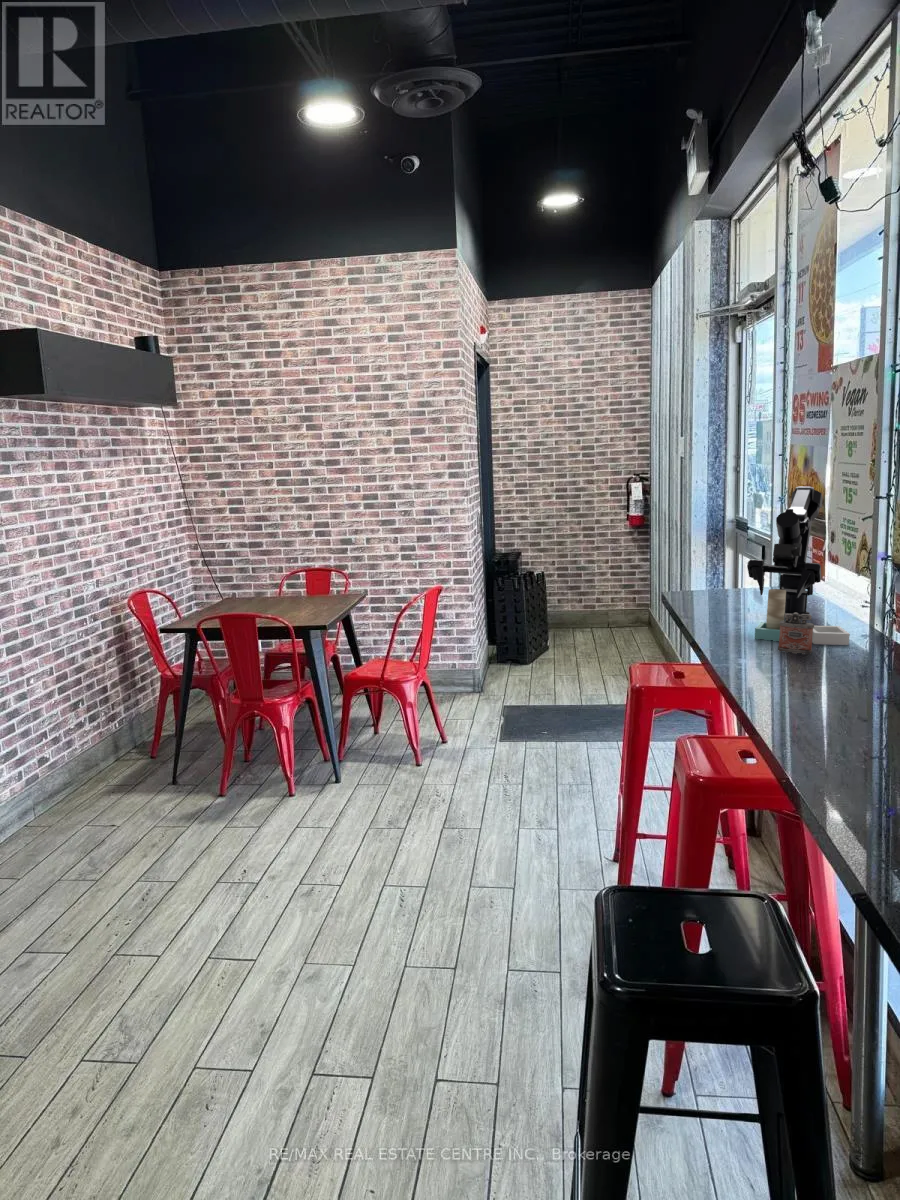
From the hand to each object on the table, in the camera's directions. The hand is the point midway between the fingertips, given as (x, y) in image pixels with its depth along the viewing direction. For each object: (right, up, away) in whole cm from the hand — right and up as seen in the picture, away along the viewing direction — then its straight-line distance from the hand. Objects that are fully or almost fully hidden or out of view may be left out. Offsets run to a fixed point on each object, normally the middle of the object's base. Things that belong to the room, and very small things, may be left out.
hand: (778, 595), depth 225 cm
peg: (-1, -11, 0) cm, 11 cm away
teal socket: (-1, -11, 0) cm, 11 cm away
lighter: (-2, -15, -15) cm, 21 cm away
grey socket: (+11, -12, -4) cm, 17 cm away
